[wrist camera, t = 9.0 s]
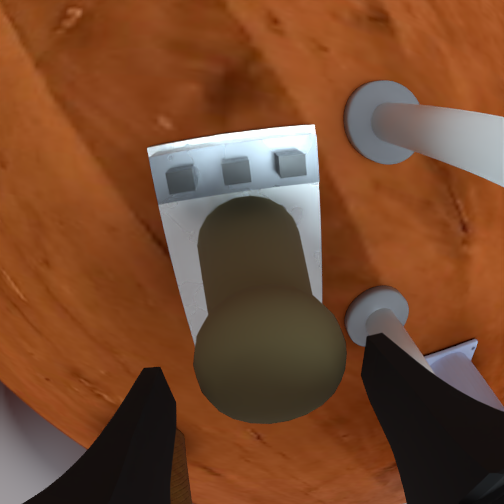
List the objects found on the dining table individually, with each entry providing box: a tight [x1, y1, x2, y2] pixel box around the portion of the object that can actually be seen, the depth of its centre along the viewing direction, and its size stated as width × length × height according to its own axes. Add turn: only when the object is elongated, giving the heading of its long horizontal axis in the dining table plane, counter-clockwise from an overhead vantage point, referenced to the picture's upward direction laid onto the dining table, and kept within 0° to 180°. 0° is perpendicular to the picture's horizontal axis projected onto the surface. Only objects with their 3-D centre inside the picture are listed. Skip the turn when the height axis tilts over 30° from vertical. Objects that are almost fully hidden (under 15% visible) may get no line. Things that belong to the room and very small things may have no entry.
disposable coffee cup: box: [170, 429, 192, 504], centre depth 23 cm, size 10×10×12 cm
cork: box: [193, 196, 347, 424], centre depth 14 cm, size 6×6×11 cm
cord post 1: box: [344, 81, 504, 187], centre depth 12 cm, size 5×5×11 cm
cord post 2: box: [345, 286, 435, 374], centre depth 18 cm, size 5×5×11 cm
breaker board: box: [147, 124, 322, 344], centre depth 18 cm, size 14×9×4 cm, turn 7°
